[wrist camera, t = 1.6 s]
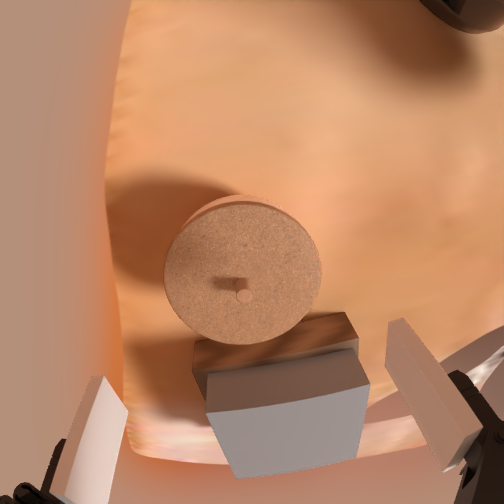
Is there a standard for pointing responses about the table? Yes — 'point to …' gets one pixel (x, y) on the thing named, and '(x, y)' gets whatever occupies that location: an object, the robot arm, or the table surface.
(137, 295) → the table surface
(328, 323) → the tower base
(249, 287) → the lidded jar
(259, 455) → the grey square slab
